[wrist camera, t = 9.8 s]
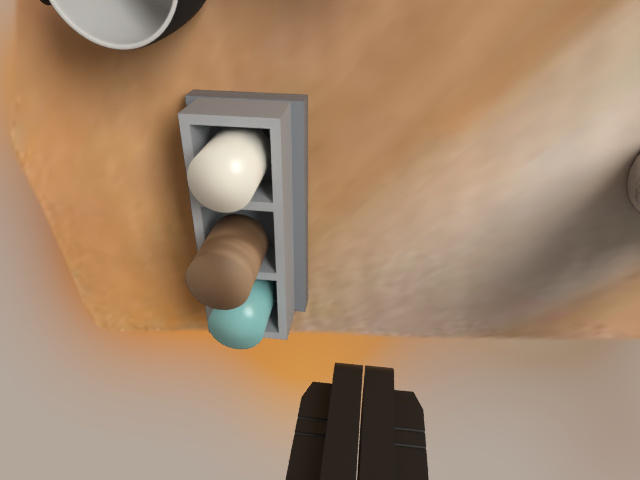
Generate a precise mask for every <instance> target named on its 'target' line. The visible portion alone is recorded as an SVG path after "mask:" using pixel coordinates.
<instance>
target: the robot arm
mask: <svg viewBox="0 0 640 480" xmlns="http://www.w3.org/2000/svg"><path fill="white" fill-rule="evenodd" d="M627 191H628V195H629V198H630V201H631V202H632V204H633V205H634V207H635V208H636V209H637V210H638V211H639V212H640V154H639V155H638V157H637V158H636V159H635V161H634V163H633V165H632V167H631V169H630V172H629V176H628V180H627ZM362 372H363V365H353V364H343V363H335V367H334V374H333V383H332V384H330V383H320V382H312V384H311V385H310V386H309V388H308V389H307V391H306V392H305V393H304V395H303V396H302V398H301V403H300V408H299V413H298V420H297V424H296V429H295V435H294V440H293V444H292V449H291V455H290V460H289V465H288V470H287V475H286V480H356V470H357V453H358V437H359V421H360V420H359V419H360V404H361V389H362ZM357 480H428V467H427V454H426V441H425V427H424V414H423V409H422V407H421V405H420V403H419V401H418V399H417V398H416V396H415V394H414V392H409V391H398V390H394V369H393V368H385V367H375V366H365V375H364V387H363V398H362V411H361V425H360V441H359V458H358V476H357Z"/></svg>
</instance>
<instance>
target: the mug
mask: <svg viewBox="0 0 640 480" xmlns="http://www.w3.org/2000/svg"><path fill="white" fill-rule="evenodd" d="M40 1H41V2H42V3H44V4H45V5H52V6H53V7H54V9H55V10H56V11H57V13H58V14H59V15H60V16H61V18H62V19H63V20H64V21H65V22H66V23H67V24H68V25H69V26H70V27H71V28H72V29H73V30H75V31H76V32H77V33H79V34H80V35H81V36H83V37H84V38H86V39H88V40H90V41H91V42H93V43H96V44H98V45H100V46H103V47H107V48H111V49H117V50H131V49H137V48H141V47H144V46H147V45H150V44H153V43H155V42H157V41H159V40H161V39H163V38H165V37H166V36H168V35H170V34H171V33H173V32H174V31H176V30H177V29H179V28H180V27H182V26H183V25H184V24H185V23H187V22H188V21H189V20H190V19H191V18H192V17H193V16H194V15H195V14H196V13H197V12H198V11H199V9H200V8H201V7H202V5H203V4H204V2H205V1H206V0H40Z"/></svg>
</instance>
